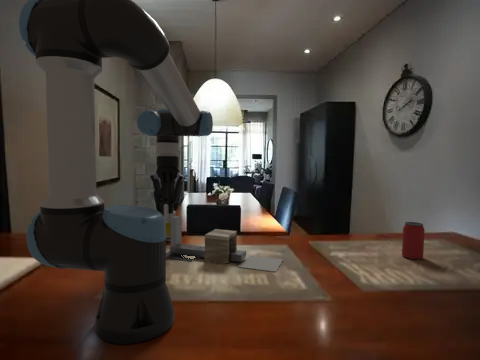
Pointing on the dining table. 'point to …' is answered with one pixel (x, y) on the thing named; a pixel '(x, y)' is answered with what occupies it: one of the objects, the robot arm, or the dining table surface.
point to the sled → (192, 249)
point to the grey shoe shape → (176, 256)
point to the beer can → (413, 240)
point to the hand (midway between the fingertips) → (167, 222)
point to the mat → (261, 263)
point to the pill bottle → (169, 228)
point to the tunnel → (219, 245)
